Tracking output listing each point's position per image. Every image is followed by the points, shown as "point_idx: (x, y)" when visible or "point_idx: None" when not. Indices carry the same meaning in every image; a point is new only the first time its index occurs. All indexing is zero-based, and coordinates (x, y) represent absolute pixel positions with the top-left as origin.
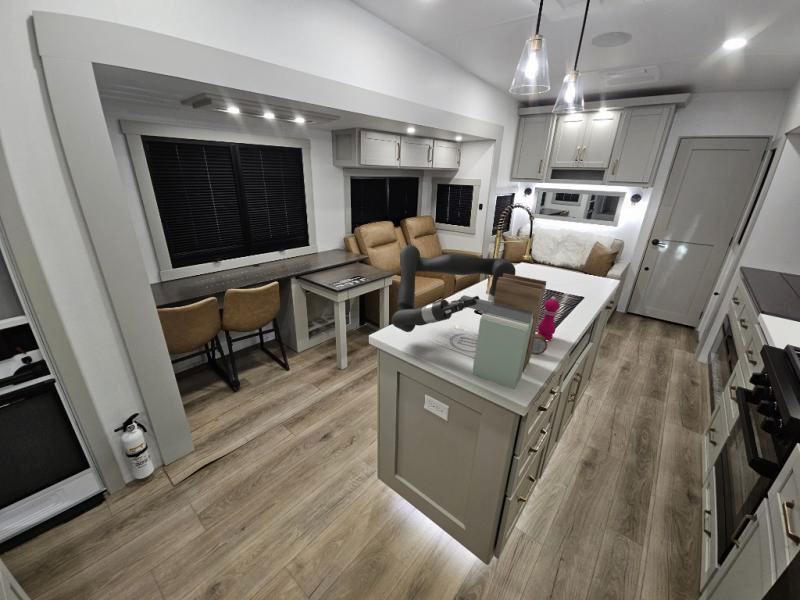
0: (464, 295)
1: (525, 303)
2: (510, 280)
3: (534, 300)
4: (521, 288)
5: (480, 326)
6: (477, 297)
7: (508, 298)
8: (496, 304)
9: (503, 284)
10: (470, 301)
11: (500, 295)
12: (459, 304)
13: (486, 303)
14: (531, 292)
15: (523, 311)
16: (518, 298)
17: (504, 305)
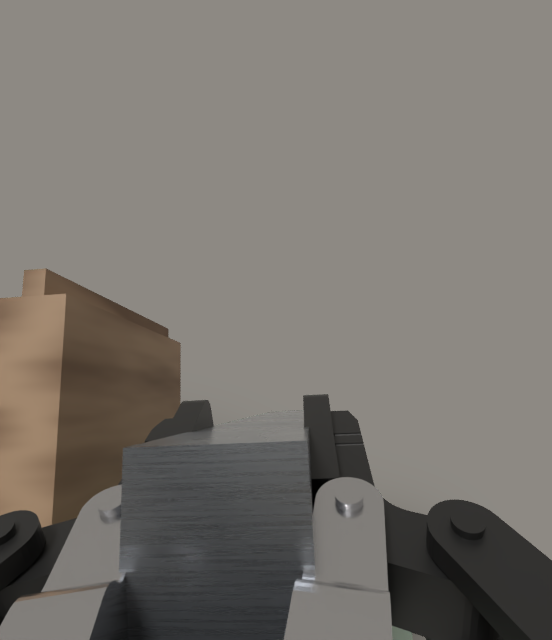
0: (140, 444)
1: (160, 420)
2: (98, 299)
3: (173, 394)
4: (147, 342)
5: (409, 632)
6: (209, 412)
7: (118, 418)
8: (274, 416)
9: (97, 321)
10: (356, 427)
11: (88, 411)
12: (487, 521)
13: (302, 417)
14: (167, 358)
15: (291, 411)
16: (144, 402)
17: (261, 415)
